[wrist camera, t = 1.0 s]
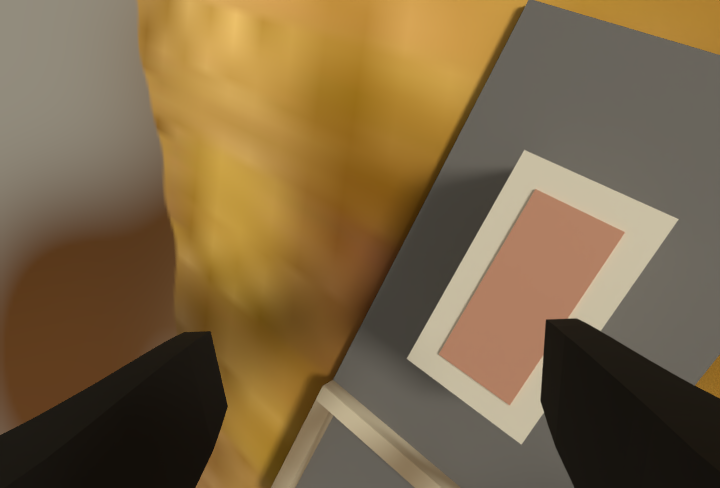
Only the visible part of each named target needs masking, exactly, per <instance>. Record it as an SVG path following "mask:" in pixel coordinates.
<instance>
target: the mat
mask: <svg viewBox="0 0 720 488" xmlns="http://www.w3.org/2000/svg"><path fill="white" fill-rule="evenodd" d="M524 150H526V151H528V152H530V153H532V154H535V155H537V156H539V157H541V158H544V159H546V160H548V161H550V162H552V163H555V164H557V165H559V166H561V167H564V168H566V169H568V170H570V171H572V172H575V173H577V174H579V175H581V176H584V177H586V178H588V179H590V180H593V181H595V182H597V183H599V184H601V185H604V186H606V187H608V188H610V189H613V190H615V191H617V192H619V193H621V194H624V195H626V196H628V197H630V198H633V199H635V200H637V201H639V202H642V203H644V204H646V205H648V206H650V207H653V208H655V209H657V210H659V211H662V212H664V213H666V214H668V215H670V216H673V217H675V218H677V219H679V220H678V221H677V222H676V224H675V225H674V227H673V228H672V230H671V231H670V232H669V234H668V235H667V237H666V238H665V240H664V241H663V242H662V244H661V245H660V247H659V248H658V250H657V251H656V253H655V254H654V255H653V257H652V258H651V260H650V261H649V263H648V264H647V265H646V267H645V268H644V270H643V271H642V273H641V274H640V275H639V277H638V278H637V280H636V281H635V283H634V284H633V285H632V287H631V288H630V290H629V291H628V293H627V294H626V296H625V297H624V298H623V300H622V301H621V303H620V304H619V306H618V307H617V308H616V310H615V311H614V313H613V314H612V316H611V317H610V318H609V320H608V321H607V323H606V324H605V326H604V327H603V328H602V330H601V332H603V333H605V334H606V335H608V336H610V337H611V338H613V339H615V340H616V341H618V342H620V343H621V344H623V345H625V346H627V347H628V348H630V349H632V350H633V351H635V352H637V353H638V354H640V355H642V356H643V357H645V358H647V359H648V360H650V361H652V362H654V363H655V364H657V365H659V366H661V367H662V368H664V369H666V370H668V371H669V372H671V373H673V374H675V375H676V376H678V377H680V378H682V379H684V380H685V381H687V382H689V383H691V384H693V385H694V386H695V384H696V383H697V382H698V381H699V379H700V378H701V377H702V376H703V374H704V373H705V372H706V371H707V369H708V368H709V367H710V366H711V365H712V363H713V362H714V361H715V360H716V358H717V357H718V356H719V355H720V55H717V54H714V53H711V52H707V51H704V50H701V49H697V48H694V47H690V46H687V45H684V44H680V43H677V42H673V41H670V40H667V39H663V38H660V37H656V36H653V35H650V34H646V33H643V32H640V31H636V30H633V29H629V28H626V27H623V26H619V25H616V24H612V23H609V22H606V21H602V20H599V19H595V18H592V17H589V16H585V15H582V14H579V13H575V12H572V11H568V10H565V9H562V8H558V7H555V6H551V5H548V4H545V3H541V2H538V1H534V0H528V2H527V4H526V6H525V8H524V10H523V12H522V14H521V16H520V18H519V20H518V22H517V24H516V26H515V27H514V29H513V31H512V33H511V35H510V37H509V39H508V41H507V43H506V45H505V47H504V49H503V51H502V53H501V55H500V57H499V59H498V60H497V62H496V64H495V66H494V68H493V70H492V72H491V74H490V76H489V78H488V80H487V82H486V84H485V86H484V88H483V90H482V92H481V94H480V95H479V97H478V99H477V101H476V103H475V105H474V107H473V109H472V111H471V113H470V115H469V117H468V119H467V121H466V123H465V125H464V127H463V128H462V130H461V132H460V134H459V136H458V138H457V140H456V142H455V144H454V146H453V148H452V150H451V152H450V154H449V156H448V158H447V160H446V162H445V163H444V165H443V167H442V169H441V171H440V173H439V175H438V177H437V179H436V181H435V183H434V185H433V187H432V189H431V191H430V193H429V195H428V196H427V198H426V200H425V202H424V204H423V206H422V208H421V210H420V212H419V214H418V216H417V218H416V220H415V222H414V224H413V226H412V228H411V229H410V231H409V233H408V235H407V237H406V239H405V241H404V243H403V245H402V247H401V249H400V251H399V253H398V255H397V257H396V259H395V261H394V263H393V264H392V266H391V268H390V270H389V272H388V274H387V276H386V278H385V280H384V282H383V284H382V286H381V288H380V290H379V292H378V294H377V296H376V297H375V299H374V301H373V303H372V305H371V307H370V309H369V311H368V313H367V315H366V317H365V319H364V321H363V323H362V325H361V327H360V329H359V331H358V332H357V334H356V336H355V338H354V340H353V342H352V344H351V346H350V348H349V350H348V352H347V354H346V356H345V358H344V360H343V362H342V364H341V365H340V367H339V369H338V371H337V373H336V375H335V377H334V379H333V380H334V381H335V382H336V383H337V384H339V385H340V386H341V387H342V388H343V389H345V390H346V391H347V392H348V393H349V394H350V395H352V396H353V397H354V398H355V399H356V400H358V401H359V402H360V403H361V404H362V405H364V406H365V407H366V408H367V409H368V410H369V411H371V412H372V413H373V414H374V415H375V416H377V417H378V418H379V419H380V420H381V421H382V422H384V423H385V424H386V425H387V426H388V427H390V428H391V429H392V430H393V431H394V432H395V433H397V434H398V435H399V436H400V437H401V438H403V439H404V440H405V441H406V442H407V443H408V444H410V445H411V446H412V447H413V448H414V449H416V450H417V451H418V452H419V453H420V454H422V455H423V456H424V457H425V458H426V459H427V460H429V461H430V462H431V463H432V464H433V465H435V466H436V467H437V468H438V469H439V470H440V471H442V472H443V473H444V474H445V475H446V476H448V477H449V478H450V479H451V480H452V481H453V482H455V483H456V484H457V485H458V486H459V487H461V488H574V486H573V484H572V482H571V479H570V477H569V475H568V473H567V471H566V469H565V467H564V464H563V462H562V460H561V458H560V456H559V454H558V451H557V449H556V447H555V444H554V441H553V438H552V436H551V433H550V430H549V427H548V424H547V420H546V417H545V414H544V413H543V414H542V416H541V417H540V419H539V420H538V422H537V423H536V425H535V426H534V427H533V429H532V430H531V432H530V433H529V435H528V436H527V437H526V439H525V440H524V442H523V443H522V445H521V444H520V443H518V442H517V441H516V440H514V439H513V438H512V437H510V436H509V435H508V434H506V433H505V432H504V431H502V430H501V429H500V428H498V427H497V426H496V425H494V424H493V423H492V422H490V421H489V420H488V419H486V418H485V417H484V416H482V415H481V414H480V413H478V412H477V411H476V410H474V409H473V408H472V407H470V406H469V405H468V404H466V403H465V402H464V401H462V400H461V399H460V398H458V397H457V396H456V395H454V394H453V393H452V392H450V391H449V390H448V389H446V388H445V387H444V386H442V385H441V384H440V383H438V382H437V381H436V380H434V379H433V378H432V377H430V376H429V375H428V374H426V373H425V372H424V371H422V370H421V369H420V368H418V367H417V366H416V365H414V364H413V363H412V362H410V361H409V360H408V359H407V357H408V356H409V354H410V352H411V350H412V348H413V347H414V345H415V343H416V341H417V340H418V338H419V336H420V334H421V332H422V331H423V329H424V327H425V325H426V324H427V322H428V320H429V318H430V316H431V315H432V313H433V311H434V309H435V308H436V306H437V304H438V302H439V301H440V299H441V297H442V295H443V293H444V292H445V290H446V288H447V286H448V285H449V283H450V281H451V279H452V277H453V276H454V274H455V272H456V270H457V269H458V267H459V265H460V263H461V261H462V260H463V258H464V256H465V254H466V253H467V251H468V249H469V247H470V245H471V244H472V242H473V240H474V238H475V237H476V235H477V233H478V231H479V229H480V228H481V226H482V224H483V222H484V221H485V219H486V217H487V215H488V214H489V212H490V210H491V208H492V206H493V205H494V203H495V201H496V199H497V198H498V196H499V194H500V192H501V190H502V189H503V187H504V185H505V183H506V182H507V180H508V178H509V176H510V174H511V173H512V171H513V169H514V167H515V166H516V164H517V162H518V160H519V158H520V157H521V155H522V153H523V151H524ZM295 488H415V487H413V486H412V485H411V484H410V483H409V482H408V481H407V480H406V479H404V478H403V477H402V476H401V475H400V474H399V473H398V472H397V471H395V470H394V469H393V468H392V467H391V466H390V465H389V464H388V463H386V462H385V461H384V460H383V459H382V458H381V457H380V456H379V455H377V454H376V453H375V452H374V451H373V450H372V449H371V448H370V447H368V446H367V445H366V444H365V443H364V442H363V441H362V440H361V439H359V438H358V437H357V436H356V435H355V434H354V433H353V432H352V431H350V430H349V429H348V428H347V427H346V426H345V425H344V424H343V423H341V422H340V421H339V420H338V419H337V418H336V417H335V416H333V418H332V419H331V421H330V423H329V425H328V427H327V429H326V431H325V433H324V435H323V436H322V438H321V440H320V442H319V444H318V446H317V448H316V450H315V452H314V453H313V455H312V457H311V459H310V461H309V463H308V465H307V467H306V469H305V470H304V472H303V474H302V476H301V478H300V480H299V482H298V484H297V486H296V487H295Z"/></svg>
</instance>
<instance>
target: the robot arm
mask: <svg viewBox="0 0 720 488" xmlns="http://www.w3.org/2000/svg"><path fill="white" fill-rule="evenodd" d="M540 401H541V404H542V408H543V411H544V414H545V417H546V420H547V424H548V427H549V430H550V433H551V436H552V438H553V441H554V444H555V447H556V449H557V451H558V454H559V456H560V458H561V460H562V462H563V464H564V467H565V469H566V471H567V473H568V475H569V477H570V479H571V482H572V484H573V486H574V488H720V399H719V398H717V397H715V396H714V395H712V394H710V393H708V392H706V391H704V390H702V389H700V388H698V387H696V386H694V385H693V384H691V383H689V382H687V381H685V380H684V379H682V378H680V377H678V376H676V375H675V374H673V373H671V372H669V371H668V370H666V369H664V368H662V367H661V366H659V365H657V364H655V363H654V362H652V361H650V360H648V359H647V358H645V357H643V356H642V355H640V354H638V353H637V352H635V351H633V350H632V349H630V348H628V347H627V346H625V345H623V344H621V343H620V342H618V341H616V340H615V339H613V338H611V337H610V336H608V335H606V334H605V333H603V332H601V331H600V330H598V329H596V328H594V327H593V326H591V325H589V324H587V323H585V322H583V321H581V320H579V319H577V318H571V319H546V324H545V339H544V353H543V368H542V383H541V398H540ZM227 407H228V406H227V401H226V397H225V393H224V388H223V384H222V380H221V375H220V371H219V366H218V362H217V358H216V353H215V349H214V345H213V340H212V336H211V332H210V331H208V332H184V333H182V334H180V335H178V336H175V337H174V338H172V339H170V340H168V341H166V342H164V343H163V344H161V345H159V346H157V347H155V348H154V349H152V350H151V351H149V352H147V353H146V354H144V355H142V356H140V357H139V358H137V359H135V360H134V361H132V362H130V363H129V364H127V365H125V366H124V367H122V368H120V369H119V370H117V371H115V372H114V373H112V374H110V375H109V376H107V377H105V378H104V379H102V380H100V381H99V382H97V383H95V384H94V385H92V386H90V387H88V388H87V389H85V390H83V391H81V392H80V393H78V394H76V395H74V396H72V397H71V398H69V399H67V400H65V401H64V402H62V403H60V404H58V405H57V406H55V407H53V408H51V409H49V410H48V411H46V412H44V413H42V414H40V415H39V416H37V417H35V418H33V419H31V420H29V421H27V422H26V423H24V424H21V425H20V426H17V427H16V428H14V429H12V430H10V431H8V432H6V433H4V434H2V435H0V488H195V487H196V485H197V483H198V481H199V479H200V477H201V475H202V473H203V471H204V468H205V466H206V464H207V462H208V460H209V458H210V456H211V454H212V451H213V449H214V446H215V444H216V441H217V438H218V435H219V432H220V429H221V426H222V423H223V420H224V417H225V413H226V410H227Z"/></svg>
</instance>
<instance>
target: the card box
mask: <svg viewBox="0 0 720 488" xmlns="http://www.w3.org/2000/svg"><path fill="white" fill-rule="evenodd" d="M678 220H679V219H677V218H675V217H673V216H670V215H668V214H666V213H664V212H662V211H659V210H657V209H655V208H653V207H650V206H648V205H646V204H644V203H642V202H639V201H637V200H635V199H633V198H630V197H628V196H626V195H624V194H621V193H619V192H617V191H615V190H613V189H610V188H608V187H606V186H604V185H601V184H599V183H597V182H595V181H593V180H590V179H588V178H586V177H584V176H581V175H579V174H577V173H575V172H572V171H570V170H568V169H566V168H564V167H561V166H559V165H557V164H555V163H552V162H550V161H548V160H546V159H544V158H541V157H539V156H537V155H535V154H532V153H530V152H528V151H526V150H524V151H523V153H522V155H521V157H520V158H519V160H518V162H517V164H516V166H515V167H514V169H513V171H512V173H511V174H510V176H509V178H508V180H507V182H506V183H505V185H504V187H503V189H502V190H501V192H500V194H499V196H498V198H497V199H496V201H495V203H494V205H493V206H492V208H491V210H490V212H489V214H488V215H487V217H486V219H485V221H484V222H483V224H482V226H481V228H480V229H479V231H478V233H477V235H476V237H475V238H474V240H473V242H472V244H471V245H470V247H469V249H468V251H467V253H466V254H465V256H464V258H463V260H462V261H461V263H460V265H459V267H458V269H457V270H456V272H455V274H454V276H453V277H452V279H451V281H450V283H449V285H448V286H447V288H446V290H445V292H444V293H443V295H442V297H441V299H440V301H439V302H438V304H437V306H436V308H435V309H434V311H433V313H432V315H431V316H430V318H429V320H428V322H427V324H426V325H425V327H424V329H423V331H422V332H421V334H420V336H419V338H418V340H417V341H416V343H415V345H414V347H413V348H412V350H411V352H410V354H409V356H408V357H407V359H408V360H409V361H410V362H412V363H413V364H414V365H416V366H417V367H418V368H420V369H421V370H422V371H424V372H425V373H426V374H428V375H429V376H430V377H432V378H433V379H434V380H436V381H437V382H438V383H440V384H441V385H442V386H444V387H445V388H446V389H448V390H449V391H450V392H452V393H453V394H454V395H456V396H457V397H458V398H460V399H461V400H462V401H464V402H465V403H466V404H468V405H469V406H470V407H472V408H473V409H474V410H476V411H477V412H478V413H480V414H481V415H482V416H484V417H485V418H486V419H488V420H489V421H490V422H492V423H493V424H494V425H496V426H497V427H498V428H500V429H501V430H502V431H504V432H505V433H506V434H508V435H509V436H510V437H512V438H513V439H514V440H516V441H517V442H518V443H520V444H521V445H522V443H523V442H524V440H525V439H526V437H527V436H528V435H529V433H530V432H531V430H532V429H533V427H534V426H535V425H536V423H537V422H538V420H539V419H540V417H541V416H542V414H543V413H544V411H543V408H542V404H541V401H540V398H541V383H542V368H543V353H544V339H545V324H546V319H571V318H577V319H579V320H581V321H583V322H585V323H587V324H589V325H591V326H593V327H594V328H596V329H598V330H600V331H601V330H602V328H603V327H604V326H605V324H606V323H607V321H608V320H609V318H610V317H611V316H612V314H613V313H614V311H615V310H616V308H617V307H618V306H619V304H620V303H621V301H622V300H623V298H624V297H625V296H626V294H627V293H628V291H629V290H630V288H631V287H632V285H633V284H634V283H635V281H636V280H637V278H638V277H639V275H640V274H641V273H642V271H643V270H644V268H645V267H646V265H647V264H648V263H649V261H650V260H651V258H652V257H653V255H654V254H655V253H656V251H657V250H658V248H659V247H660V245H661V244H662V242H663V241H664V240H665V238H666V237H667V235H668V234H669V232H670V231H671V230H672V228H673V227H674V225H675V224H676V222H677V221H678Z"/></svg>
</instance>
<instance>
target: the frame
mask: <svg viewBox="0 0 720 488" xmlns="http://www.w3.org/2000/svg"><path fill="white" fill-rule="evenodd" d="M333 416H335V417H336V418H337V419H338V420H339V421H340V422H341V423H343V424H344V425H345V426H346V427H347V428H348V429H349V430H350V431H352V432H353V433H354V434H355V435H356V436H357V437H358V438H359V439H361V440H362V441H363V442H364V443H365V444H366V445H367V446H368V447H370V448H371V449H372V450H373V451H374V452H375V453H376V454H377V455H379V456H380V457H381V458H382V459H383V460H384V461H385V462H386V463H388V464H389V465H390V466H391V467H392V468H393V469H394V470H395V471H397V472H398V473H399V474H400V475H401V476H402V477H403V478H404V479H406V480H407V481H408V482H409V483H410V484H411V485H412V486H413V487H415V488H461V487H459V486H458V485H457V484H456V483H455V482H453V481H452V480H451V479H450V478H449V477H448V476H446V475H445V474H444V473H443V472H442V471H440V470H439V469H438V468H437V467H436V466H435V465H433V464H432V463H431V462H430V461H429V460H427V459H426V458H425V457H424V456H423V455H422V454H420V453H419V452H418V451H417V450H416V449H414V448H413V447H412V446H411V445H410V444H408V443H407V442H406V441H405V440H404V439H403V438H401V437H400V436H399V435H398V434H397V433H395V432H394V431H393V430H392V429H391V428H390V427H388V426H387V425H386V424H385V423H384V422H382V421H381V420H380V419H379V418H378V417H377V416H375V415H374V414H373V413H372V412H371V411H369V410H368V409H367V408H366V407H365V406H364V405H362V404H361V403H360V402H359V401H358V400H356V399H355V398H354V397H353V396H352V395H350V394H349V393H348V392H347V391H346V390H345V389H343V388H342V387H341V386H340V385H339V384H337V383H336V382H335V381H334V380H332V381H330V382H328V383H327V384H325V385H323V387H322V388H321V390H320V392H319V394H318V396H317V398H316V400H315V402H314V404H313V406H312V408H311V410H310V412H309V414H308V416H307V418H306V420H305V422H304V424H303V426H302V428H301V430H300V432H299V434H298V436H297V438H296V440H295V442H294V443H293V445H292V447H291V449H290V451H289V453H288V455H287V457H286V459H285V461H284V463H283V465H282V467H281V469H280V471H279V473H278V475H277V477H276V479H275V481H274V483H273V485H272V487H271V488H295V487H296V486H297V484H298V482H299V480H300V478H301V476H302V474H303V472H304V470H305V469H306V467H307V465H308V463H309V461H310V459H311V457H312V455H313V453H314V452H315V450H316V448H317V446H318V444H319V442H320V440H321V438H322V436H323V435H324V433H325V431H326V429H327V427H328V425H329V423H330V421H331V419H332V418H333Z"/></svg>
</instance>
